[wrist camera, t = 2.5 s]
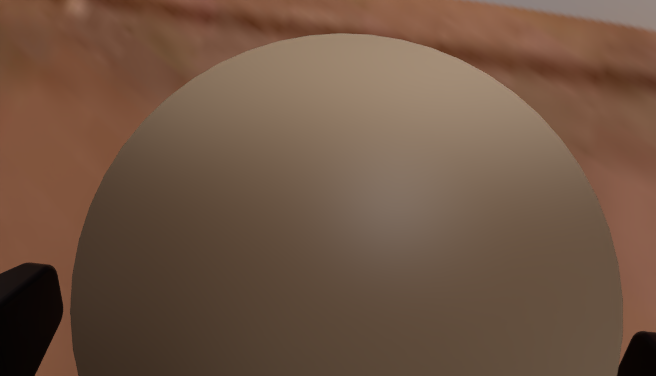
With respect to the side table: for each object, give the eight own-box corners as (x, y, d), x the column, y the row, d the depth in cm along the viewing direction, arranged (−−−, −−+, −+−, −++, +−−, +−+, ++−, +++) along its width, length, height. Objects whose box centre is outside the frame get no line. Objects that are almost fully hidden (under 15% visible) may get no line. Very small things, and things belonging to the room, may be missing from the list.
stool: (432, 453, 16) (642, 630, 6) (208, 427, 16) (-1, 550, 6) (442, 232, 18) (607, 58, 8) (243, 211, 18) (137, 11, 8)
